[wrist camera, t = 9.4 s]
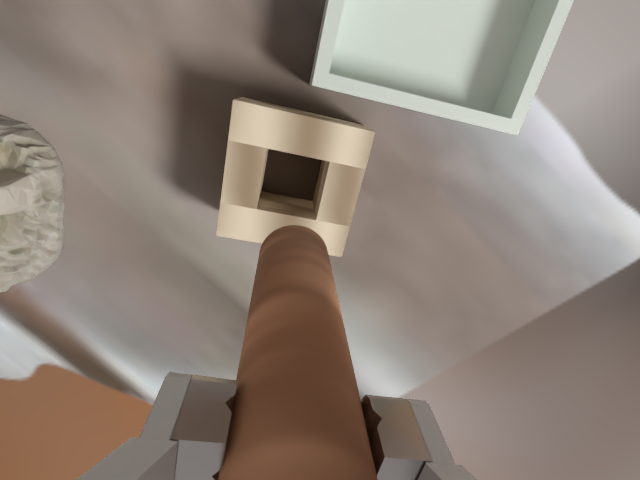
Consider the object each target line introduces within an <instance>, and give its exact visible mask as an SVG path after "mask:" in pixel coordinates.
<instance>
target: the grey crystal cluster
mask: <svg viewBox="0 0 640 480" xmlns="http://www.w3.org/2000/svg"><path fill="white" fill-rule="evenodd" d="M63 195H64V170H63V166H62V163H61V161H60V159H59V157H58V155H57V153H56V151H55V149H54V148H53V146H52V145H51V144H50V143H49V142H48V141H47V140H46V139H45V138H44V137H42V136H41V135H40V134H39V133H38V132H37V131H35V130H33V129H31V128H30V127H29V126H28V125H27V124H24V123H23V122H19V121H17V120H14V119H11V118H9V117H5V116H2V115H0V292H5V291H7V290H8V289H9V288H10V287H11V286H12V285H14V284H18V283H23V282H26V281H28V280H31V279H33V278H34V277H37V276H38V275H40V274H41V273H42V272H44V271H45V270H46V269H47V268H48V267H50V266H51V265H52V264H53V263H54V261H55V260H56V259H57V258H58V256H59V254H60V252H61V250H62V246H63V244H64V240H63V221H64V220H63V211H64V198H63Z"/></svg>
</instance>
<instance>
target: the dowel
mask: <svg viewBox="0 0 640 480" xmlns="http://www.w3.org/2000/svg"><path fill="white" fill-rule="evenodd" d="M236 381H237V387H236V393H235V399H234V405H233V411H232V416H231V421H230V427H229V433H228V438H227V444H226V449H225V455H224V460H223V466H222V469H221V470H220V472H219V477H218V480H378V479H377V475H376V470H375V465H374V461H373V456H372V452H371V447H370V443H369V438H368V433H367V429H366V424H365V420H364V415H363V411H362V406H361V401H360V397H359V392H358V388H357V383H356V379H355V374H354V369H353V365H352V360H351V356H350V351H349V347H348V342H347V337H346V333H345V328H344V324H343V319H342V315H341V310H340V305H339V301H338V296H337V292H336V287H335V283H334V278H333V273H332V269H331V264H330V260H329V255H328V251H327V247H326V244H325V242H324V241H323V239H322V238H321V237H320V235H318V234H317V233H316V232H315V231H313V230H312V229H310V228H307V227H304V226H299V225H289V226H284V227H281V228H278V229H276V230H275V231H273V232H272V233H270V234H269V235H268V236H267V237H266V239H265V240H264V242H263V243H262V246H261V249H260V253H259V259H258V264H257V270H256V275H255V281H254V286H253V292H252V297H251V302H250V308H249V313H248V319H247V324H246V330H245V335H244V341H243V346H242V352H241V357H240V363H239V368H238V373H237V379H236Z"/></svg>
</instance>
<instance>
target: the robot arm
mask: <svg viewBox="0 0 640 480" xmlns="http://www.w3.org/2000/svg"><path fill="white" fill-rule="evenodd" d="M236 387H237V381H236V380H229V379H221V378H214V377H207V376H200V375H188V374H181V373H174V372H169V373H168V374H167V376H166V377H165V379H164V381H163V384H162V386H161V388H160V391H159V393H158V395H157V398H156V400H155V402H154V405H153V407H152V409H151V412H150V414H149V416H148V419H147V421H146V423H145V426H144V428H143V430H142V433H141V435H140V437H139V438H137V437H136V438H135V437H131V438H130V439H128V440H127V441H126V442H125V443H123V444H122V445H121V446H119V447H118V448H117V449H116V450H114V451H113V452H112V453H110V454H109V455H108V456H106V457H105V458H104V459H103V460H101V461H100V462H99V463H97V464H96V465H95V466H94V467H92V468H91V469H90V470H88V471H87V472H86V473H85V474H83V475H82V476H81V477H79V478H78V479H77V480H218V477H219V472H220V470H221V469H222V466H223V460H224V455H225V449H226V444H227V438H228V433H229V427H230V421H231V416H232V411H233V405H234V399H235V393H236ZM361 406H362V411H363V415H364V420H365V424H366V429H367V433H368V438H369V443H370V447H371V452H372V456H373V461H374V465H375V470H376V475H377V479H378V480H477V479H475V477H474V476H472V475H471V474H470V473H469V472H468V471H467V470H466V469H465V468H464V467H463V466H461V465H456V464H455V462H454V460H453V458H452V455H451V453H450V451H449V448H448V446H447V444H446V441H445V439H444V437H443V435H442V432H441V430H440V428H439V426H438V423H437V421H436V419H435V417H434V414H433V412H432V410H431V407H430V405H429V404H428V403H427V402H426V401H421V400H411V399H402V398H392V397H382V396H373V395H365V396H364V397H363V399H362V401H361Z"/></svg>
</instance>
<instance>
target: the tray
mask: <svg viewBox="0 0 640 480" xmlns="http://www.w3.org/2000/svg"><path fill="white" fill-rule="evenodd" d="M573 1H574V0H326V1H325V6H324V11H323V16H322V22H321V27H320V32H319V37H318V42H317V47H316V52H315V57H314V63H313V68H312V73H311V78H310V83H309V85H311V86H315V87H319V88H323V89H328V90H332V91H336V92H340V93H344V94H348V95H352V96H356V97H361V98H365V99H369V100H373V101H377V102H381V103H385V104H389V105H394V106H398V107H402V108H406V109H410V110H414V111H418V112H422V113H426V114H431V115H435V116H439V117H443V118H447V119H451V120H455V121H459V122H464V123H468V124H472V125H476V126H480V127H484V128H488V129H492V130H497V131H501V132H505V133H510V134H514V135H518V133H519V131H520V128H521V126H522V124H523V121H524V119H525V116H526V114H527V112H528V109H529V107H530V104H531V102H532V100H533V97H534V95H535V92H536V90H537V87H538V85H539V83H540V80H541V78H542V75H543V73H544V71H545V68H546V66H547V63H548V61H549V59H550V56H551V54H552V52H553V49H554V47H555V44H556V42H557V40H558V37H559V35H560V32H561V30H562V27H563V25H564V23H565V20H566V18H567V15H568V13H569V11H570V8H571V6H572V3H573Z"/></svg>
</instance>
